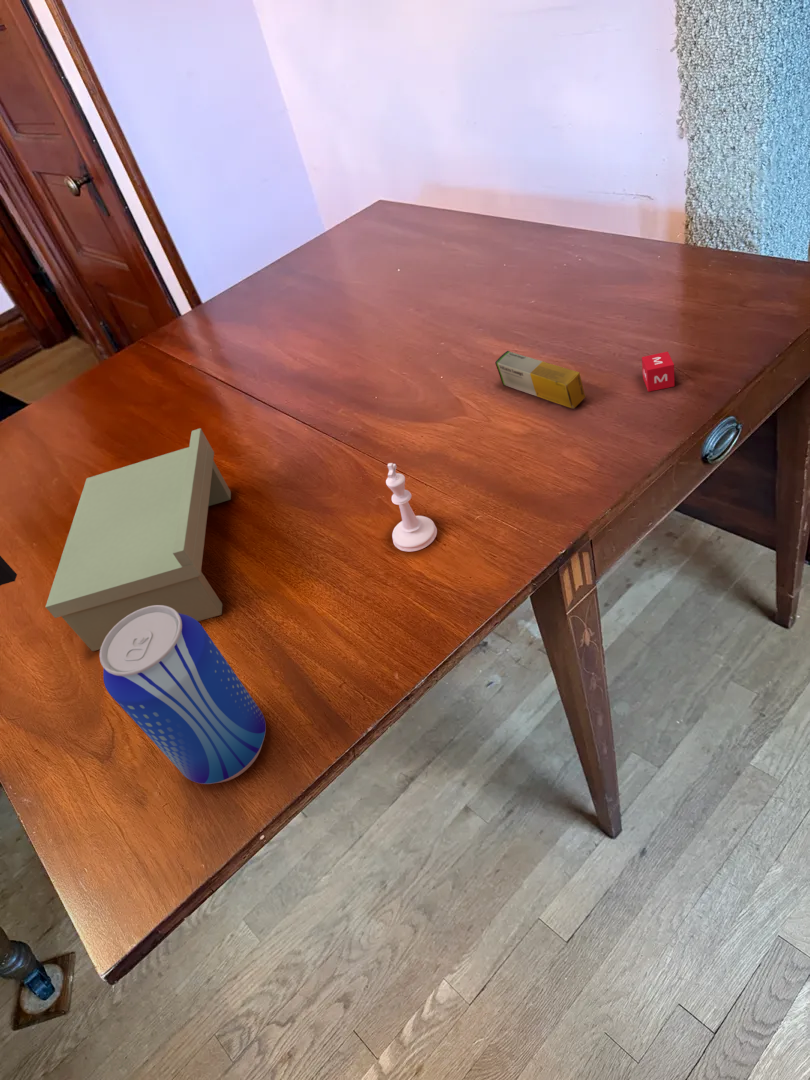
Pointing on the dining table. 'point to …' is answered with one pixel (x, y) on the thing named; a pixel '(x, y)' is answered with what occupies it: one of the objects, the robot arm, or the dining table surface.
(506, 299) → the dining table surface
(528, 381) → the medication box
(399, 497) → the chess piece
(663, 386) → the red letter cube
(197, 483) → the shelf
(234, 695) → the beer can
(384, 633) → the dining table surface
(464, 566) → the dining table surface
